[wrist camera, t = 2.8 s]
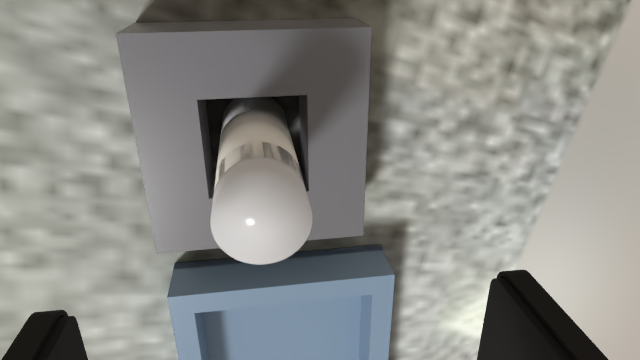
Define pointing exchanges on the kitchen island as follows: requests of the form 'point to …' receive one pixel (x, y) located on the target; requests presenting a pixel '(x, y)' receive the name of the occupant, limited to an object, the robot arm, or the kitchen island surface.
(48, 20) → the kitchen island surface
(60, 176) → the kitchen island surface
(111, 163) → the kitchen island surface
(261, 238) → the white rounded cylinder piece
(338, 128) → the gray square hole block
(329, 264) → the parts tray
